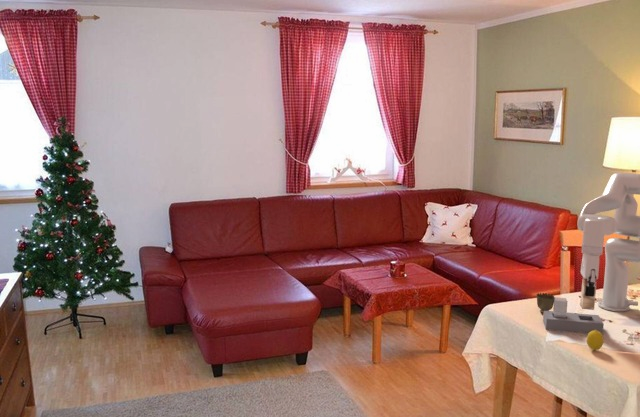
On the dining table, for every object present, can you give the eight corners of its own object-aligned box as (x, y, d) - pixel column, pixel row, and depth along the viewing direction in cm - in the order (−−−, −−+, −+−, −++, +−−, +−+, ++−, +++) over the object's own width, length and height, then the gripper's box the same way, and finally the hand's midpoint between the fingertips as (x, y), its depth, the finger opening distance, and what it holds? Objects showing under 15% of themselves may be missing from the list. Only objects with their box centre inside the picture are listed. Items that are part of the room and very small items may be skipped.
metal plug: (563, 325, 240) (565, 298, 238) (565, 328, 236) (567, 301, 234) (552, 323, 241) (554, 297, 239) (553, 327, 237) (555, 300, 235)
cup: (555, 316, 251) (556, 298, 250) (537, 315, 252) (538, 297, 251) (551, 310, 258) (553, 293, 257) (534, 309, 260) (535, 292, 258)
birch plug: (591, 306, 236) (594, 278, 234) (594, 309, 232) (596, 281, 230) (580, 305, 237) (582, 277, 235) (582, 308, 233) (584, 281, 231)
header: (597, 326, 239) (598, 315, 238) (602, 336, 230) (603, 323, 229) (542, 321, 244) (543, 310, 243) (545, 330, 235) (546, 318, 234)
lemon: (594, 354, 212) (596, 333, 211) (582, 348, 217) (584, 328, 216) (605, 352, 214) (607, 331, 213) (593, 346, 219) (595, 326, 218)
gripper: (578, 244, 239) (574, 287, 242) (585, 254, 223) (581, 299, 226) (598, 245, 237) (594, 288, 240) (607, 255, 221) (603, 301, 224)
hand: (588, 293), depth 233 cm, fingers closed on birch plug, 4 cm apart
